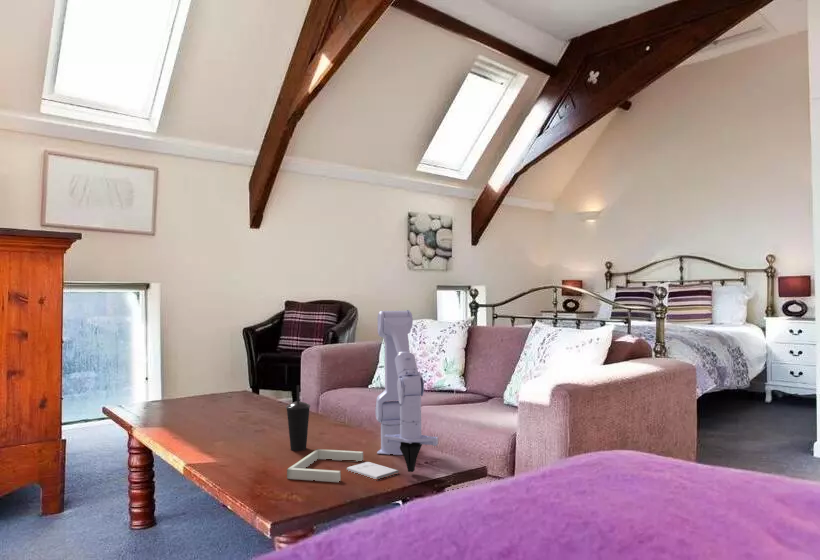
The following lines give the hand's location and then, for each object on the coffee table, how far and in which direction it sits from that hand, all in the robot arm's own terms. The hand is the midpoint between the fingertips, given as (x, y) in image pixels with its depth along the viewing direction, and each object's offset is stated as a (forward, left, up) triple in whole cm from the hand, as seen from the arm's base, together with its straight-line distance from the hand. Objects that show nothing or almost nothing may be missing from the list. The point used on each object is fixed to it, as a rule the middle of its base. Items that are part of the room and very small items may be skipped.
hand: (411, 470), depth 161 cm
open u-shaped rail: (0, -24, -1) cm, 24 cm away
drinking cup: (-18, -41, -1) cm, 45 cm away
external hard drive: (0, -11, -2) cm, 11 cm away
